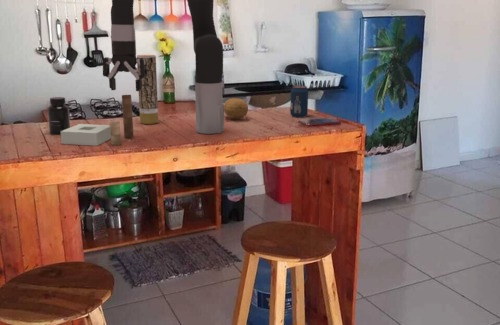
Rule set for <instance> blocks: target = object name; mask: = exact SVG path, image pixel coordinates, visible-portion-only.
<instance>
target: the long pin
mask: <svg viewBox="0 0 500 325" xmlns="http://www.w3.org/2000/svg"><path fill="white" fill-rule="evenodd" d="M132 102H133V101H132V95H131V94H122V95H121V103H122V104H121V105H122V106H121V107H122V120H123V136H124V139H133V138H134V137H135V136H134V125H133V124H134V120H133V104H132Z"/></svg>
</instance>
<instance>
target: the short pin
mask: <svg viewBox="0 0 500 325" xmlns="http://www.w3.org/2000/svg"><path fill="white" fill-rule="evenodd" d="M109 125H110V133H111V139H110V142H111V143H110V145H111V146H120V145H121V146H122V138H121V137H122V136H121V135H122V134H121V124H120V121H109Z"/></svg>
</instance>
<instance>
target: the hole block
mask: <svg viewBox="0 0 500 325" xmlns="http://www.w3.org/2000/svg"><path fill="white" fill-rule="evenodd" d="M60 132H61V134H60V138H61V145H76V146H77V145H79V146H96V147H97V146H99V145H101V144H103V143H105V142H107V141H109V140H111V133H110V124H88V123H78V124H76V125H73V126H70V128H68V129H65V130H63V131H60Z"/></svg>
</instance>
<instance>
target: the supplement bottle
mask: <svg viewBox="0 0 500 325" xmlns="http://www.w3.org/2000/svg"><path fill="white" fill-rule="evenodd" d="M49 104H50V105H49V106H48V107H47V115H48V116H47V117H48V118H47V119H48V130H49V133H50V134H51V135H61V132H60V131H63V130H65V129H68V128H70V127H71V120H70V108H69V106H68V105H66V98H65V97H63V96H59V97H58V96H55V97H50V98H49Z"/></svg>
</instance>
